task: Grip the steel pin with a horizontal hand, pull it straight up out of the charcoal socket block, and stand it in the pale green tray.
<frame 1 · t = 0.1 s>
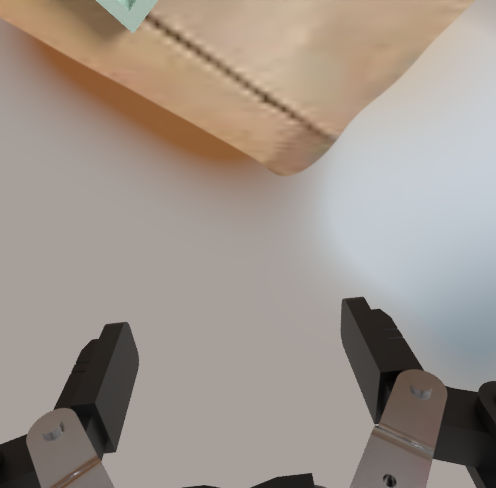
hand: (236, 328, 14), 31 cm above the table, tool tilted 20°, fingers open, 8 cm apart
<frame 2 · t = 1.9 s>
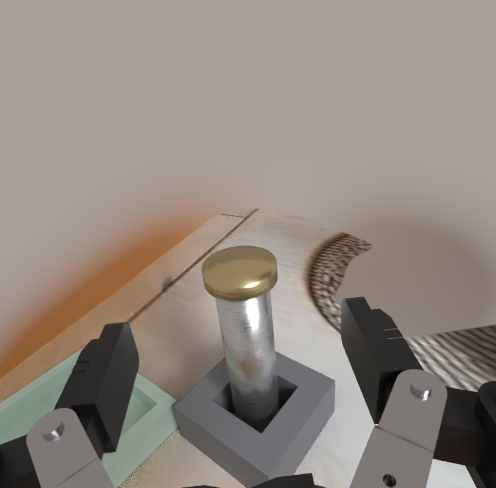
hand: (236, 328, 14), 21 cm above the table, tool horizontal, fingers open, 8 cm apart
socket block: (258, 423, 34), on the table
steel pin: (250, 354, 30), in the socket block
tray: (75, 439, 34), on the table
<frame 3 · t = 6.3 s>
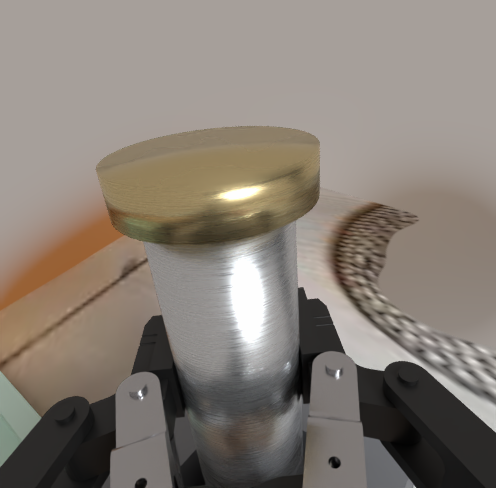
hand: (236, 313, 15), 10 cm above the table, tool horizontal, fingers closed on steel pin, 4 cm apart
steel pin: (243, 394, 13), in the socket block, touching gripper
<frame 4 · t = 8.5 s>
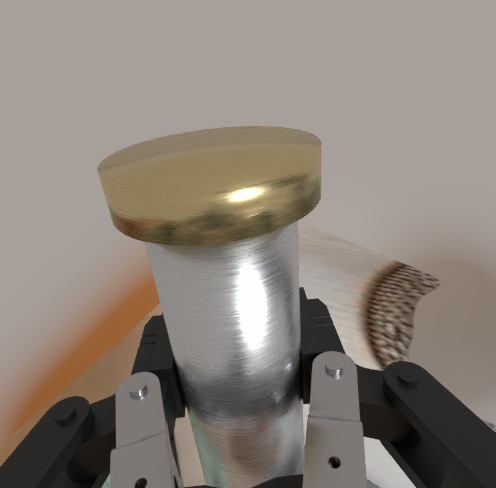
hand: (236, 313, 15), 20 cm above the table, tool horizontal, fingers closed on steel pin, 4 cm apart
steel pin: (244, 395, 13), point 18 cm above the table, touching gripper
when the fingers open (12 cm above the table, at t = 11.1 s): steel pin stays where it is, resting on tray.
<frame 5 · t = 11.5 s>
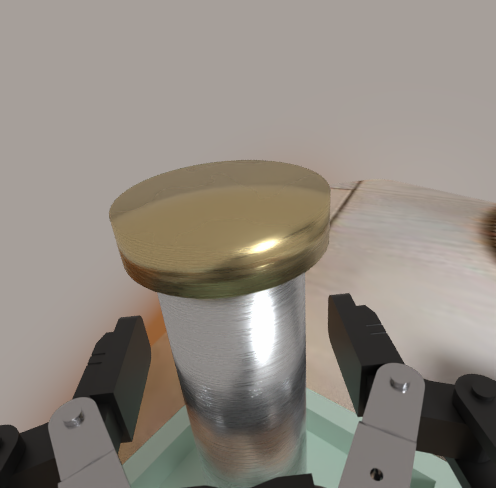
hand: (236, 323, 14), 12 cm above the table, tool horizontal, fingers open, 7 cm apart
steel pin: (249, 419, 13), in the tray, point 10 cm above the table
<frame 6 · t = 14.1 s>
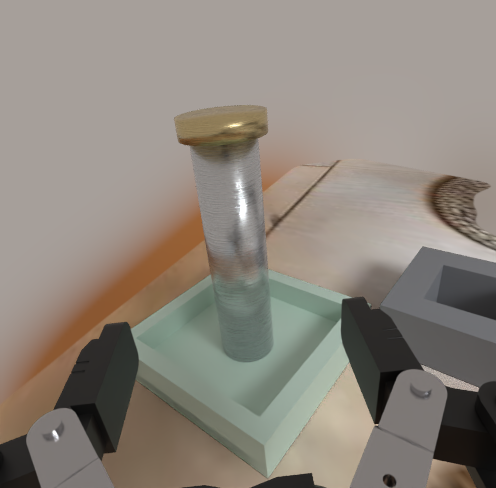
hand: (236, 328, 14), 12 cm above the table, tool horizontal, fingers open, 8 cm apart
socket block: (463, 332, 29), on the table
steel pin: (236, 246, 25), in the tray, point 10 cm above the table
tray: (248, 351, 29), on the table
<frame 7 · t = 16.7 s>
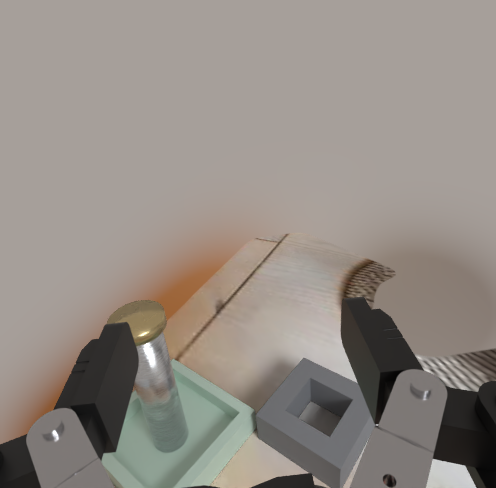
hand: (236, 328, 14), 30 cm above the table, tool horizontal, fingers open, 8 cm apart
socket block: (319, 428, 42), on the table
steel pin: (155, 382, 38), in the tray, point 10 cm above the table
tray: (172, 440, 43), on the table
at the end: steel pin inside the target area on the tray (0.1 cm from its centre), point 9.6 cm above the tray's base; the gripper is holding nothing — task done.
